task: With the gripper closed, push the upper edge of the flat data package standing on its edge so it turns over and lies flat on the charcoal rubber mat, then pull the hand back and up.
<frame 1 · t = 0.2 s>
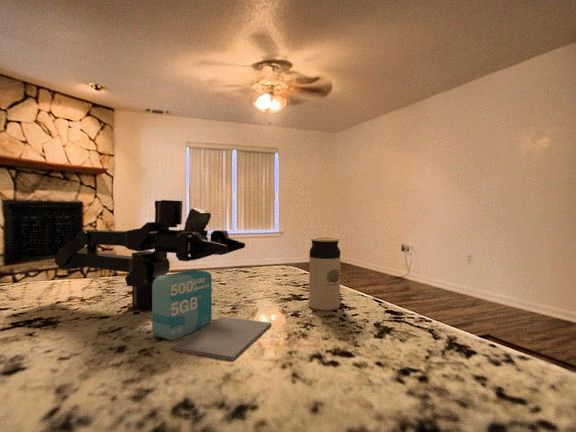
hand: (236, 246, 79), 17 cm above the countertop, tool horizontal, fingers open, 9 cm apart
travel mug: (324, 307, 89), on the countertop
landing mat: (225, 336, 67), on the countertop
data package: (183, 332, 71), on the countertop
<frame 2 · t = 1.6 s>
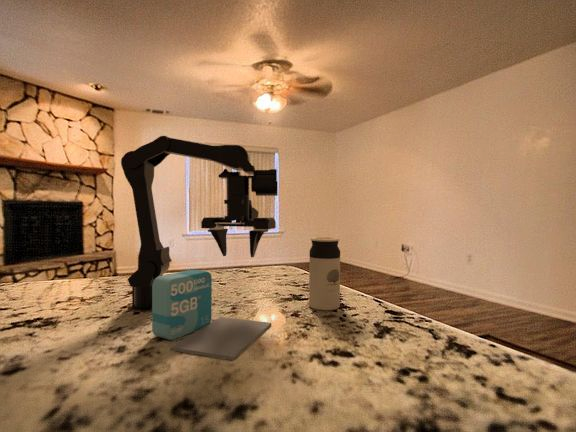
hand: (238, 256, 87), 13 cm above the countertop, tool pointing down, fingers open, 8 cm apart
nothing on the countertop moved.
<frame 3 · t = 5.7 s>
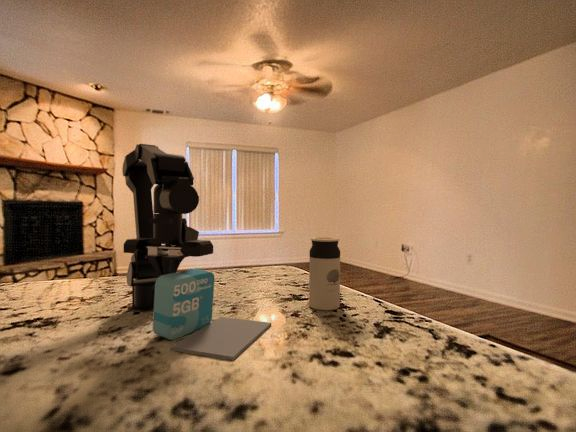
hand: (168, 287, 71), 9 cm above the countertop, tool pointing down, fingers closed
data package: (183, 331, 71), on the countertop, touching gripper
everything else where it was.
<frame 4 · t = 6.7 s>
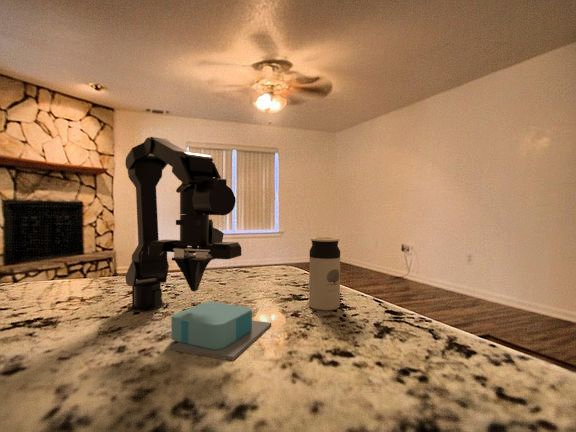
hand: (194, 290, 69), 9 cm above the countertop, tool pointing down, fingers closed
data package: (188, 318, 70), point 3 cm above the countertop, touching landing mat
everything else where it was.
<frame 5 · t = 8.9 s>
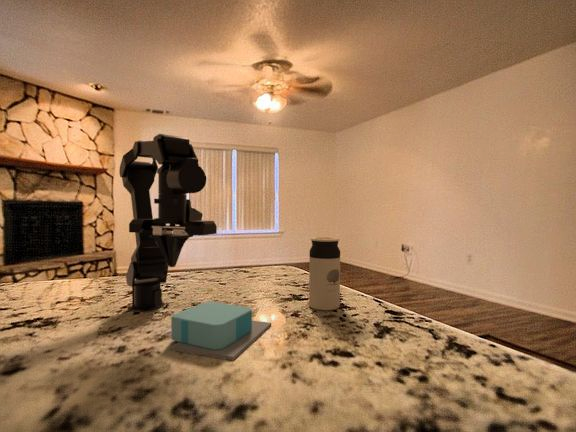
hand: (172, 266, 73), 13 cm above the countertop, tool pointing down, fingers closed
nothing on the countertop moved.
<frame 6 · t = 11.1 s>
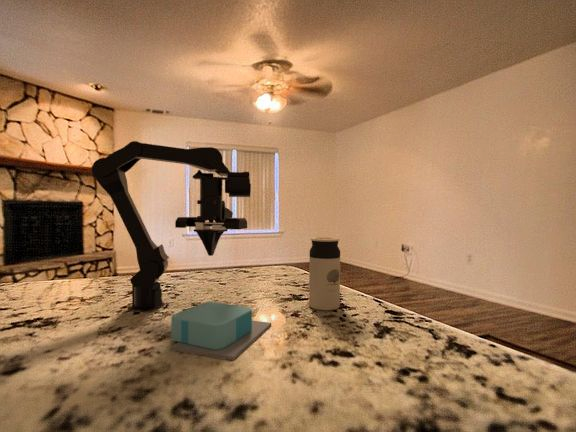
hand: (210, 255, 90), 13 cm above the countertop, tool pointing down, fingers closed
nothing on the countertop moved.
at the end: data package tilted 90°; data package inside the target area (5.6 cm from its centre), point 2.9 cm above the countertop; data package touching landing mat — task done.
